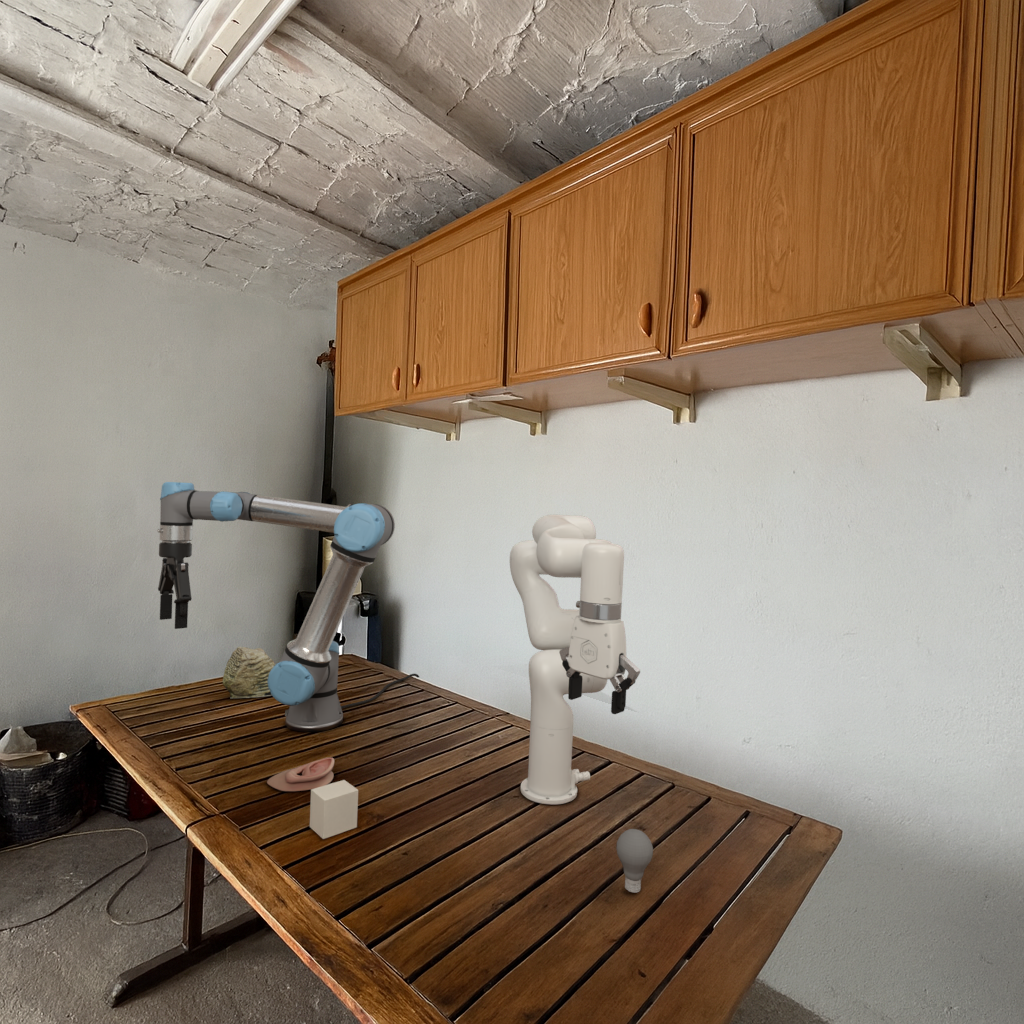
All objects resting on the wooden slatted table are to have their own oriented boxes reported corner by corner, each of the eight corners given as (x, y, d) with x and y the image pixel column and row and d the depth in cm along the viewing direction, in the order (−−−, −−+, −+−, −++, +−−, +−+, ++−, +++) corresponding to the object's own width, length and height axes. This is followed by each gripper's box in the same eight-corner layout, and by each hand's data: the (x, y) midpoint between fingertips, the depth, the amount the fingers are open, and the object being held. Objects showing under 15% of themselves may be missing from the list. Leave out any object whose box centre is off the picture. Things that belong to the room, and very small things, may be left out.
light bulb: (610, 879, 108) (613, 822, 108) (644, 879, 109) (647, 822, 109) (619, 902, 102) (622, 840, 102) (655, 901, 103) (658, 840, 103)
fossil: (218, 695, 195) (220, 647, 195) (278, 685, 208) (279, 640, 207) (228, 703, 189) (230, 653, 188) (289, 692, 201) (290, 645, 201)
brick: (309, 826, 122) (310, 789, 121) (342, 815, 126) (344, 779, 126) (323, 839, 117) (324, 800, 117) (357, 827, 122) (358, 789, 122)
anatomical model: (259, 769, 136) (288, 749, 147) (258, 787, 136) (288, 766, 147) (316, 777, 133) (341, 756, 145) (315, 796, 133) (340, 773, 145)
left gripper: (147, 538, 170) (144, 616, 171) (174, 545, 152) (171, 633, 152) (177, 538, 175) (174, 614, 176) (207, 545, 157) (204, 630, 157)
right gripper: (550, 605, 118) (546, 697, 118) (628, 621, 106) (623, 723, 106) (576, 602, 123) (571, 689, 124) (653, 617, 111) (648, 713, 111)
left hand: (173, 623), depth 164 cm, fingers open, 13 cm apart
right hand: (595, 705), depth 115 cm, fingers open, 9 cm apart
